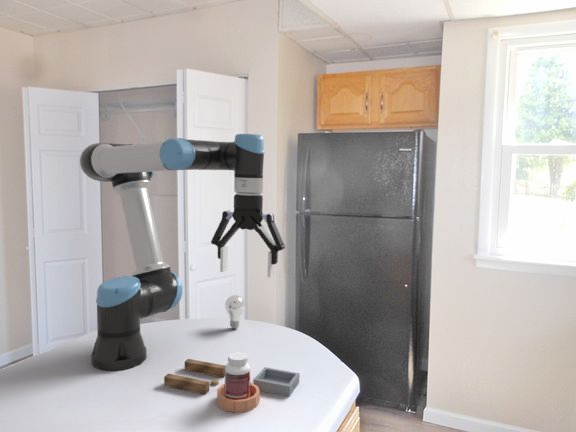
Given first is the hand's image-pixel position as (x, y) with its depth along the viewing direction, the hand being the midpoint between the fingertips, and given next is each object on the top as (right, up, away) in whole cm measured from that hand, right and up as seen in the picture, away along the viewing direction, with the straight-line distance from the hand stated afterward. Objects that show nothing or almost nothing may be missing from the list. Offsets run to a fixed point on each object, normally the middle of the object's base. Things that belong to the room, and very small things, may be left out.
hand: (246, 273), depth 125 cm
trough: (+8, -29, -2) cm, 30 cm away
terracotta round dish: (-1, -30, -10) cm, 32 cm away
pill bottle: (-2, -30, -10) cm, 31 cm away
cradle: (-14, -29, 0) cm, 32 cm away
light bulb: (-8, -24, +39) cm, 47 cm away
